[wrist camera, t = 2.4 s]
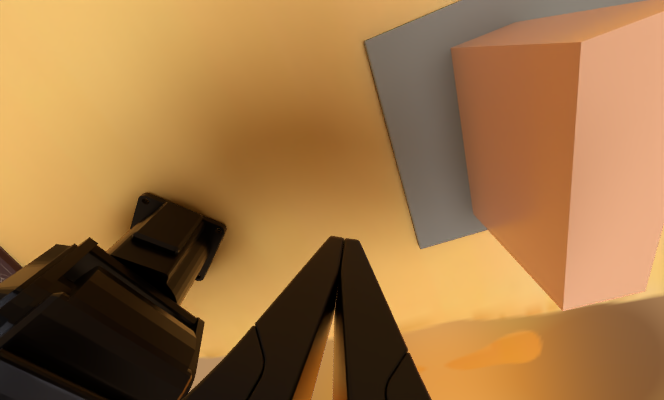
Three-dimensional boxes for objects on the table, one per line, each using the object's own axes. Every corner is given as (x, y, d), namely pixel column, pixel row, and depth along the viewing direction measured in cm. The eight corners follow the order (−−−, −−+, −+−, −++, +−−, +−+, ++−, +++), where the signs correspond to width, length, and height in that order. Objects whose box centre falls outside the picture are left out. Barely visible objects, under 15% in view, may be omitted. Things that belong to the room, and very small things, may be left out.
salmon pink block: (473, 213, 21) (562, 310, 13) (450, 47, 15) (581, 41, 8) (524, 198, 20) (649, 290, 12) (519, 20, 15) (737, -17, 7)
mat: (418, 244, 23) (420, 249, 23) (363, 41, 16) (365, 41, 15) (667, 171, 20) (676, 174, 20) (740, -118, 13) (758, -125, 12)
